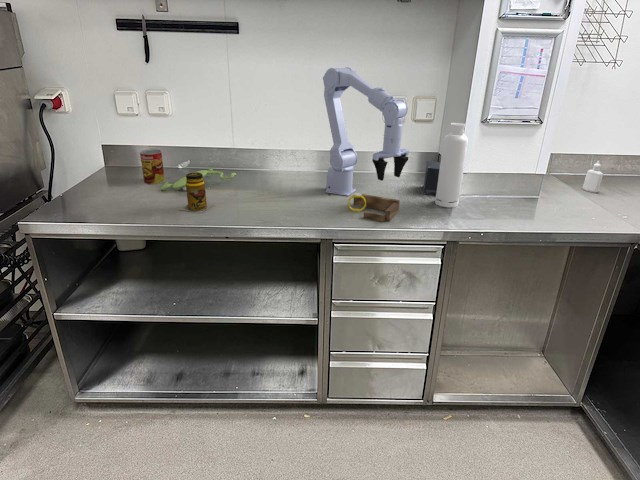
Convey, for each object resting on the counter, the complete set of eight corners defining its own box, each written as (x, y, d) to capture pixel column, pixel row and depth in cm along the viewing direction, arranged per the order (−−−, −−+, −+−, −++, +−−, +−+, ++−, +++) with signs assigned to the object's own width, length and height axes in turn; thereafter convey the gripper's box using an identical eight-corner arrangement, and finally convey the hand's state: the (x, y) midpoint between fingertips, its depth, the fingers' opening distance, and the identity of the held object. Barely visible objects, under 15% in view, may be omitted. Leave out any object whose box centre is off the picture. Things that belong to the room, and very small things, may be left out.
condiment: (201, 213, 144) (197, 178, 140) (178, 210, 147) (174, 175, 142) (212, 206, 151) (209, 172, 146) (190, 203, 153) (187, 169, 148)
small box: (440, 196, 165) (444, 168, 161) (423, 194, 167) (426, 167, 162) (439, 187, 175) (443, 161, 170) (423, 186, 176) (426, 160, 172)
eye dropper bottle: (588, 192, 172) (596, 162, 167) (580, 188, 177) (589, 159, 172) (599, 193, 172) (608, 163, 167) (591, 188, 177) (600, 159, 172)
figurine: (242, 185, 174) (241, 171, 172) (182, 201, 156) (181, 186, 154) (214, 175, 185) (213, 162, 183) (156, 189, 167) (154, 175, 165)
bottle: (437, 198, 163) (448, 121, 151) (460, 202, 159) (472, 123, 148) (432, 205, 156) (443, 124, 144) (455, 208, 153) (468, 127, 141)
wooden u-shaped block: (342, 214, 146) (342, 202, 145) (354, 203, 156) (355, 192, 154) (388, 222, 140) (389, 210, 138) (398, 211, 150) (399, 200, 148)
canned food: (140, 181, 174) (135, 151, 169) (157, 177, 180) (152, 148, 175) (152, 185, 170) (148, 155, 165) (169, 181, 176) (165, 151, 171)
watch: (364, 210, 151) (367, 193, 148) (364, 213, 148) (367, 196, 146) (347, 208, 151) (349, 191, 149) (347, 211, 149) (349, 194, 146)
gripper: (384, 143, 139) (380, 184, 144) (416, 138, 146) (412, 178, 152) (369, 138, 144) (366, 178, 150) (402, 134, 151) (398, 173, 157)
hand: (388, 178), depth 151 cm, fingers open, 7 cm apart
